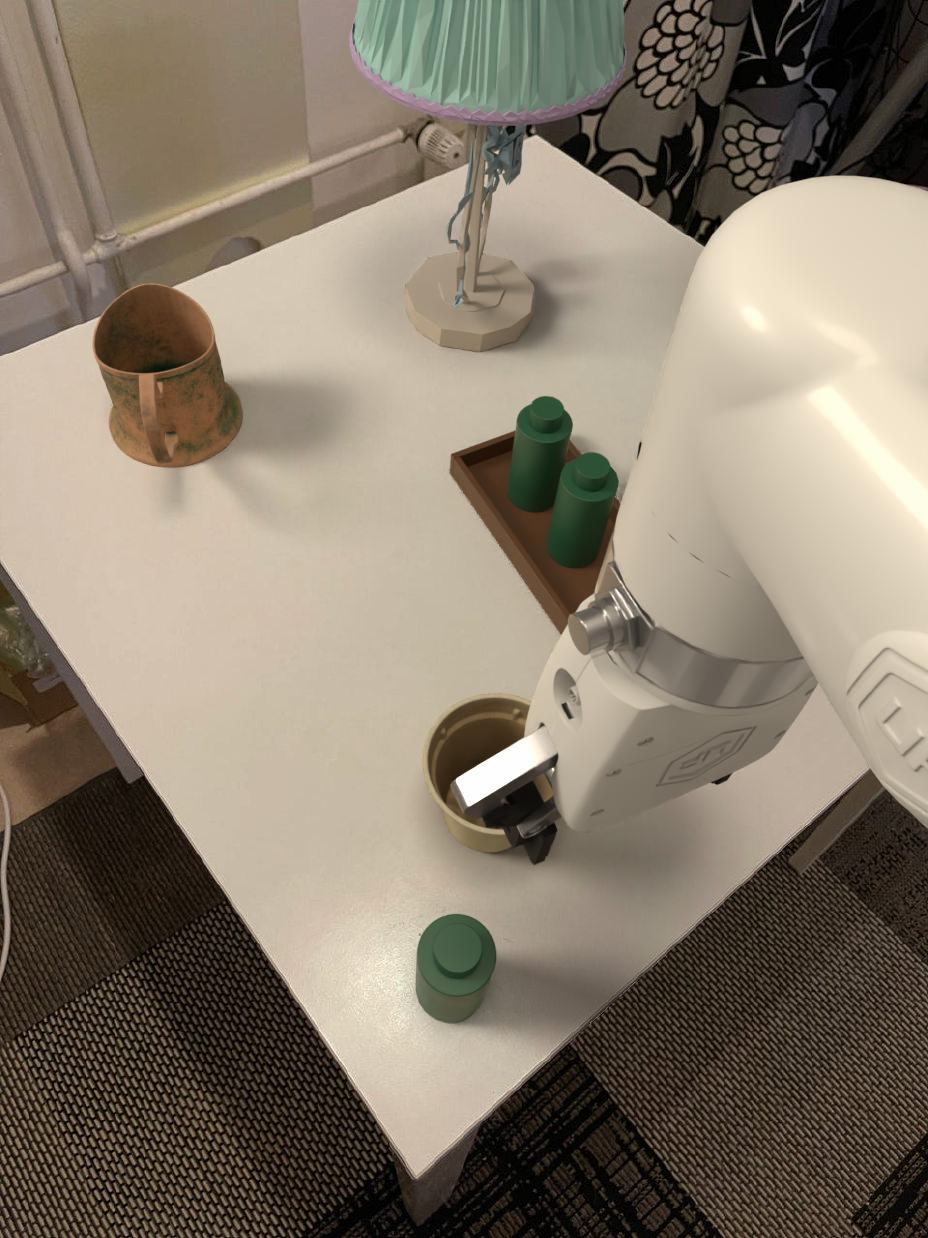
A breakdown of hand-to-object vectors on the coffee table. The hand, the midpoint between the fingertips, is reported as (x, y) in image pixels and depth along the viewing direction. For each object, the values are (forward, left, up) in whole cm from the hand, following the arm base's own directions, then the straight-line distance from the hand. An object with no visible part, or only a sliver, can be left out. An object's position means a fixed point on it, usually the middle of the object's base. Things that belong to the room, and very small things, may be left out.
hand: (615, 794), depth 43 cm
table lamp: (+55, -24, -20) cm, 63 cm away
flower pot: (+8, +1, -20) cm, 22 cm away
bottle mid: (+25, -17, -20) cm, 36 cm away
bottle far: (+31, -17, -20) cm, 40 cm away
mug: (+50, +8, -20) cm, 55 cm away
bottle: (-1, +8, -20) cm, 22 cm away
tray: (+24, -17, -20) cm, 36 cm away
